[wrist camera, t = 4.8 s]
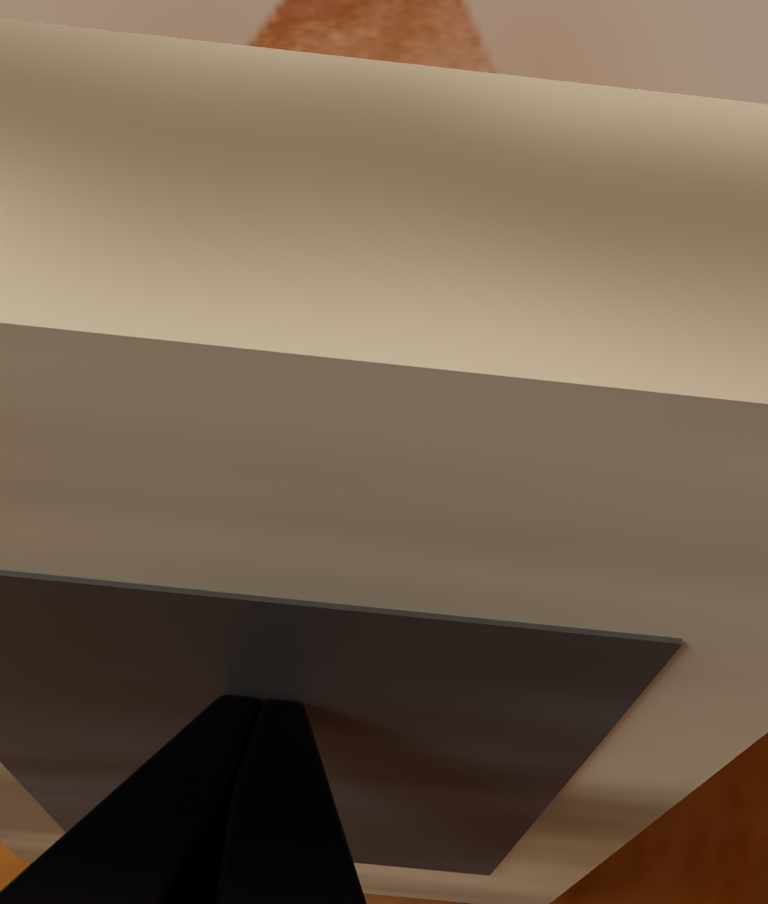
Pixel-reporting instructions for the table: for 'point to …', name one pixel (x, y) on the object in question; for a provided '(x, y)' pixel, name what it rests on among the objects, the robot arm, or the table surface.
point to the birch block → (381, 441)
